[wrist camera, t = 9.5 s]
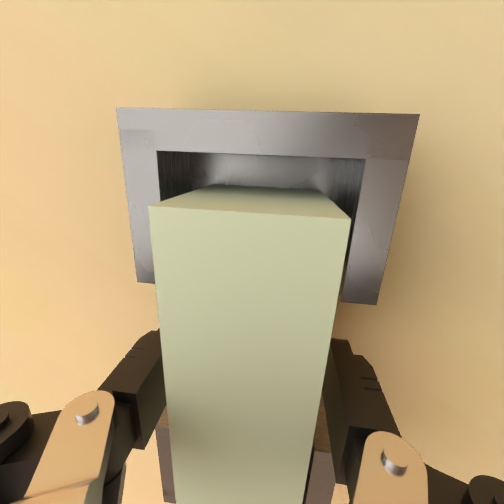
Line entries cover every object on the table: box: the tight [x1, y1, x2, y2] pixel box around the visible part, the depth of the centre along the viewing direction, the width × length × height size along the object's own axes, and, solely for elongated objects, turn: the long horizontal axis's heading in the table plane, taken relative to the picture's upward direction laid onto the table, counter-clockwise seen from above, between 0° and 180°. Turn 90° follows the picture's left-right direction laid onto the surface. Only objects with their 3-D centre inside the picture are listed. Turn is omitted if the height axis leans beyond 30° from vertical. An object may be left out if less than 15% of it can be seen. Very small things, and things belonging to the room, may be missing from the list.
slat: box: [148, 184, 351, 504], centre depth 10 cm, size 12×4×5 cm, turn 178°
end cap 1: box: [116, 107, 420, 305], centre depth 9 cm, size 5×7×4 cm
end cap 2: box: [155, 392, 336, 504], centre depth 13 cm, size 5×7×4 cm
